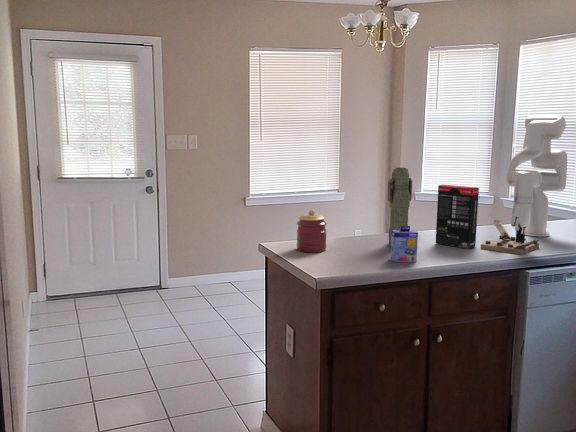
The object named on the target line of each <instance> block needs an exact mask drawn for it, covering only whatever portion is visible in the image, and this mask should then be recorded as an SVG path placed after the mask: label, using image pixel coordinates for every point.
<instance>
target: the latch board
mask: <svg viewBox="0 0 576 432" xmlns="http://www.w3.org/2000/svg"><path fill="white" fill-rule="evenodd" d="M510 237H511V240H508V239H504V238H503V237H502V235H501V234H500V235H499V237H498V238H494V239H492V240H486V241H485V242H483V243H481V244H480V249H481V250H488V251H493V250H495V252H500V251H501V253H508V254H514V255H520V256H523V255H525V254H527V253H529V252H531V251H533V250H534V251H535V250H536V249H538V248H539V247H540V242H539V240H538V239H533V240H532V241H533V243H530V244H526V245H522V246H516V245H512V243H513V242H514V241H516V236H510ZM525 240H527V238H525Z"/></svg>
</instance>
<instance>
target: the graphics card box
mask: <svg viewBox="0 0 576 432" xmlns="http://www.w3.org/2000/svg"><path fill="white" fill-rule="evenodd" d="M437 189H438V190H437V205H436V206H437V208H436V209H437V211H436V224H435V225H436V228H435V243H436V244H439V245H445V246H450V247H456V248H460V249H461V248H462V249H467V250H470V249H473V248H474V247H475V248H476V241H477V225H478V207H479V192H480V187H475V186H465V185H455V184H454V185H453V184H438V186H437Z"/></svg>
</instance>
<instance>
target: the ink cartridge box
mask: <svg viewBox="0 0 576 432" xmlns="http://www.w3.org/2000/svg"><path fill="white" fill-rule="evenodd" d="M404 227H407V228H408V229H402V228H404ZM418 239H419V232H418V231H417V230H415V229H411V225H408V226H401V230H391V246H390V257H389V258H390V260H391V261H392V262H394V263H416V262H417V256H418Z"/></svg>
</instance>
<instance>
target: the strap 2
mask: <svg viewBox="0 0 576 432" xmlns="http://www.w3.org/2000/svg"><path fill="white" fill-rule="evenodd" d="M530 243H533V240H528V239H526V240H525V241H524V243H521V242H515V241H514V242H513V243H512V245H516V246H522V245H526V244H530Z"/></svg>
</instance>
